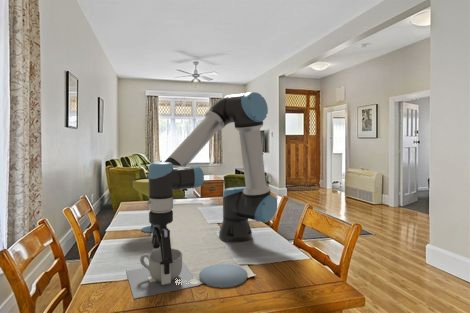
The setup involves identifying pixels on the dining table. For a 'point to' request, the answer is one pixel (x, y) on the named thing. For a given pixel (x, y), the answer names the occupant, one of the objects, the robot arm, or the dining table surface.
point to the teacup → (156, 267)
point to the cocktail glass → (143, 187)
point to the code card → (156, 282)
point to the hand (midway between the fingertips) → (161, 274)
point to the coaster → (223, 275)
